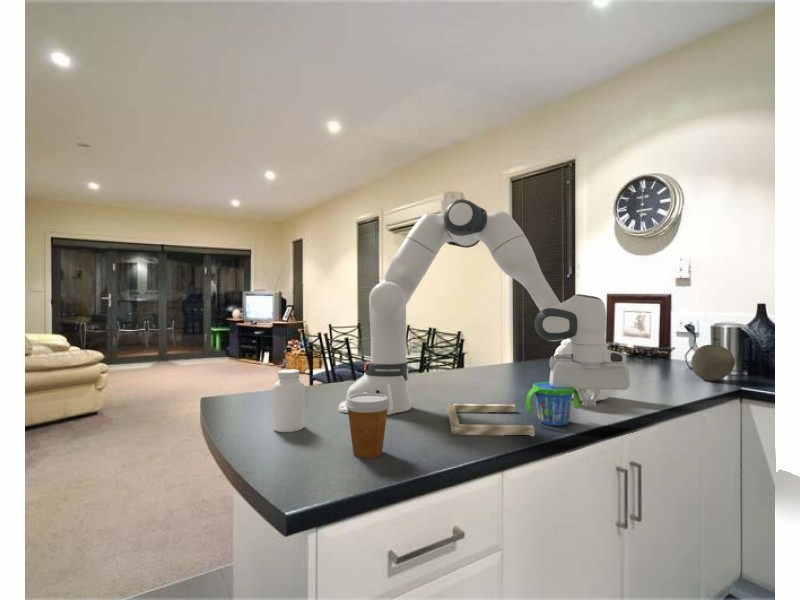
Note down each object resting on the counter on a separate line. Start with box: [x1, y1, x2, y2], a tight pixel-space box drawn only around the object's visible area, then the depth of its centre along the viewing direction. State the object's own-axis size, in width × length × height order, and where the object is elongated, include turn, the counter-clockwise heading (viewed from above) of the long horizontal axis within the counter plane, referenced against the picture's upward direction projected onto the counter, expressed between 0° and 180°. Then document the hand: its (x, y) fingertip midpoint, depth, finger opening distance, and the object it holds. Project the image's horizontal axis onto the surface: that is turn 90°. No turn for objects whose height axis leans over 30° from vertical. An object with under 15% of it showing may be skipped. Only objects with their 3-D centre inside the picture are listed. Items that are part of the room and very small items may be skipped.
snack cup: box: [525, 381, 581, 427], centre depth 115 cm, size 16×10×10 cm
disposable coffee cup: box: [346, 394, 390, 459], centre depth 92 cm, size 10×10×12 cm
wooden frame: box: [446, 403, 535, 437], centre depth 116 cm, size 20×24×2 cm
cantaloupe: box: [690, 344, 736, 382], centre depth 176 cm, size 14×14×15 cm
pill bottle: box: [272, 368, 306, 433], centre depth 110 cm, size 8×8×15 cm
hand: (589, 405), depth 114 cm, fingers closed
